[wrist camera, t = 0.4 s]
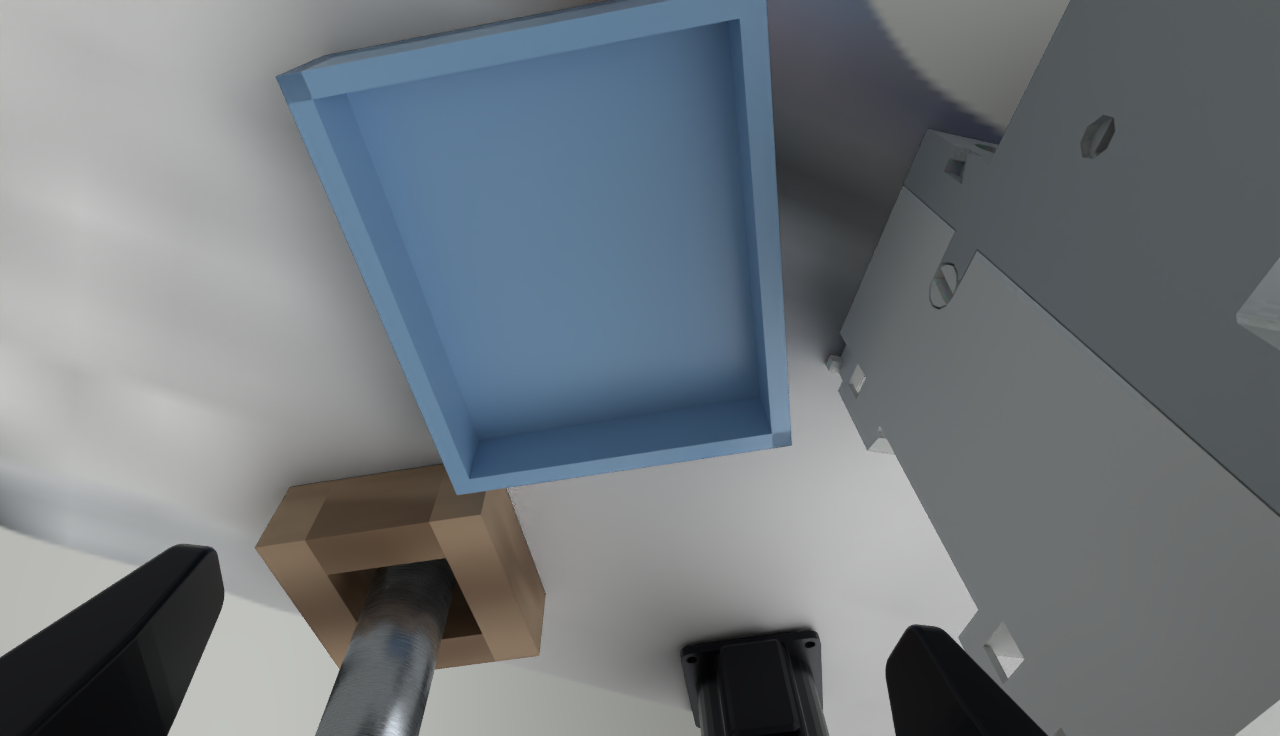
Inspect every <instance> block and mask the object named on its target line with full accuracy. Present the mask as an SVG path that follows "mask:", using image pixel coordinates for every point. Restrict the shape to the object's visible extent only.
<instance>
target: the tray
mask: <svg viewBox="0 0 1280 736" xmlns="http://www.w3.org/2000/svg"><path fill="white" fill-rule="evenodd" d="M276 78H277V81H278V83H279V85H280V88H281V90H282V92H283V95H284V97H285V99H286V102H287V104H288V106H289V108H290V111H291V113H292V115H293V118H294V120H295V122H296V125H297V127H298V129H299V132H300V134H301V136H302V139H303V141H304V143H305V145H306V148H307V150H308V152H309V155H310V157H311V159H312V162H313V164H314V166H315V169H316V171H317V173H318V175H319V178H320V180H321V182H322V185H323V187H324V189H325V192H326V194H327V196H328V199H329V201H330V203H331V205H332V208H333V210H334V212H335V215H336V217H337V219H338V222H339V224H340V226H341V229H342V231H343V233H344V236H345V238H346V240H347V242H348V245H349V247H350V249H351V252H352V254H353V256H354V259H355V261H356V263H357V266H358V268H359V270H360V272H361V275H362V277H363V279H364V282H365V284H366V286H367V289H368V291H369V293H370V296H371V298H372V300H373V302H374V305H375V307H376V309H377V312H378V314H379V316H380V319H381V321H382V323H383V326H384V328H385V330H386V333H387V335H388V337H389V339H390V342H391V344H392V346H393V349H394V351H395V353H396V356H397V358H398V360H399V363H400V365H401V367H402V369H403V372H404V374H405V376H406V379H407V381H408V383H409V386H410V388H411V390H412V393H413V395H414V397H415V399H416V402H417V404H418V406H419V409H420V411H421V413H422V416H423V418H424V420H425V423H426V425H427V427H428V430H429V432H430V434H431V436H432V439H433V441H434V443H435V446H436V448H437V450H438V453H439V455H440V457H441V460H442V462H443V464H444V466H445V469H446V471H447V473H448V476H449V478H450V480H451V483H452V485H453V487H454V490H455V492H456V494H457V495H462V494H469V493H475V492H482V491H489V490H496V489H502V488H509V487H516V486H522V485H529V484H536V483H543V482H549V481H556V480H563V479H569V478H576V477H583V476H590V475H596V474H603V473H610V472H617V471H623V470H630V469H637V468H643V467H650V466H657V465H664V464H670V463H677V462H684V461H691V460H697V459H704V458H711V457H717V456H724V455H731V454H738V453H744V452H751V451H758V450H764V449H771V448H778V447H785V446H791V445H792V442H791V424H790V407H789V389H788V371H787V354H786V336H785V319H784V301H783V284H782V266H781V249H780V231H779V213H778V196H777V178H776V161H775V143H774V126H773V108H772V91H771V73H770V55H769V38H768V20H767V3H766V0H608V1H603V2H598V3H593V4H588V5H582V6H577V7H572V8H567V9H562V10H557V11H551V12H546V13H541V14H536V15H531V16H526V17H521V18H515V19H510V20H505V21H500V22H495V23H490V24H484V25H479V26H474V27H469V28H464V29H459V30H453V31H448V32H443V33H438V34H433V35H428V36H423V37H417V38H412V39H407V40H402V41H397V42H392V43H386V44H381V45H376V46H371V47H366V48H361V49H356V50H350V51H345V52H340V53H335V54H330V55H325V56H322V57H320V58H317V59H315V60H313V61H310V62H308V63H306V64H304V65H301V66H299V67H297V68H294V69H292V70H290V71H287V72H285V73H283V74H281V75H278V76H276Z"/></svg>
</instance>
